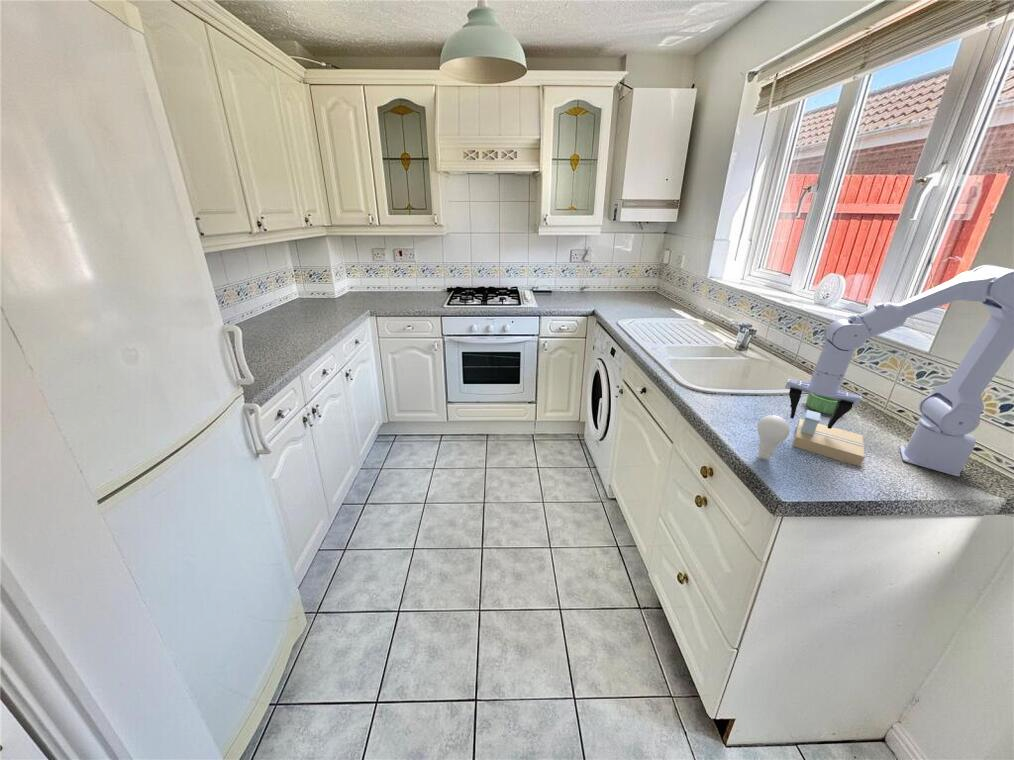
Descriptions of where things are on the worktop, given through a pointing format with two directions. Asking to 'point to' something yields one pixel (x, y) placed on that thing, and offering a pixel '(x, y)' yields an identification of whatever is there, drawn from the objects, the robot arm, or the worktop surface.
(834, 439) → the carton
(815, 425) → the tab
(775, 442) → the lightbulb
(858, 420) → the worktop surface
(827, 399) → the ramekin
